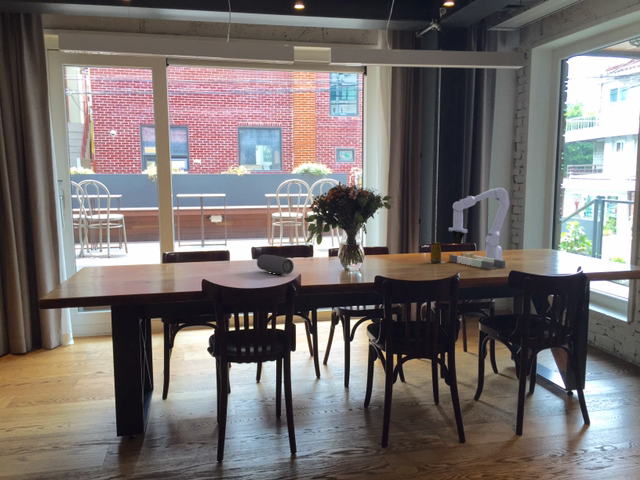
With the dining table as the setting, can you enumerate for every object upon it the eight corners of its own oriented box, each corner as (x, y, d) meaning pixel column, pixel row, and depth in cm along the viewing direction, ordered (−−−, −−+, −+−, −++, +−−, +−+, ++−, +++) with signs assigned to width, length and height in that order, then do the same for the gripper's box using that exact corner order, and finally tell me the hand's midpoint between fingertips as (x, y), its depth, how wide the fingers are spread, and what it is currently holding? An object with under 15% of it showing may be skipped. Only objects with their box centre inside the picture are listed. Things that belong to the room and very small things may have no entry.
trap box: (463, 259, 333) (463, 253, 333) (505, 267, 303) (505, 260, 302) (449, 261, 328) (449, 254, 328) (490, 269, 298) (490, 262, 298)
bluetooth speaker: (294, 275, 290) (294, 257, 289) (281, 277, 284) (280, 259, 283) (269, 270, 307) (269, 252, 306) (256, 272, 301) (255, 254, 300)
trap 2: (493, 266, 308) (493, 265, 308) (502, 268, 302) (502, 267, 302) (483, 267, 305) (483, 266, 305) (492, 269, 299) (492, 268, 299)
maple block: (469, 258, 324) (469, 252, 323) (475, 259, 319) (475, 253, 319) (462, 259, 322) (462, 252, 321) (468, 260, 317) (468, 253, 317)
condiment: (435, 261, 329) (435, 241, 328) (446, 262, 323) (446, 242, 321) (427, 262, 325) (427, 242, 323) (438, 264, 318) (438, 244, 317)
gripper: (444, 220, 331) (444, 242, 333) (461, 222, 318) (460, 245, 320) (453, 220, 334) (453, 242, 336) (470, 222, 322) (469, 244, 323)
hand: (457, 243), depth 328 cm, fingers closed
